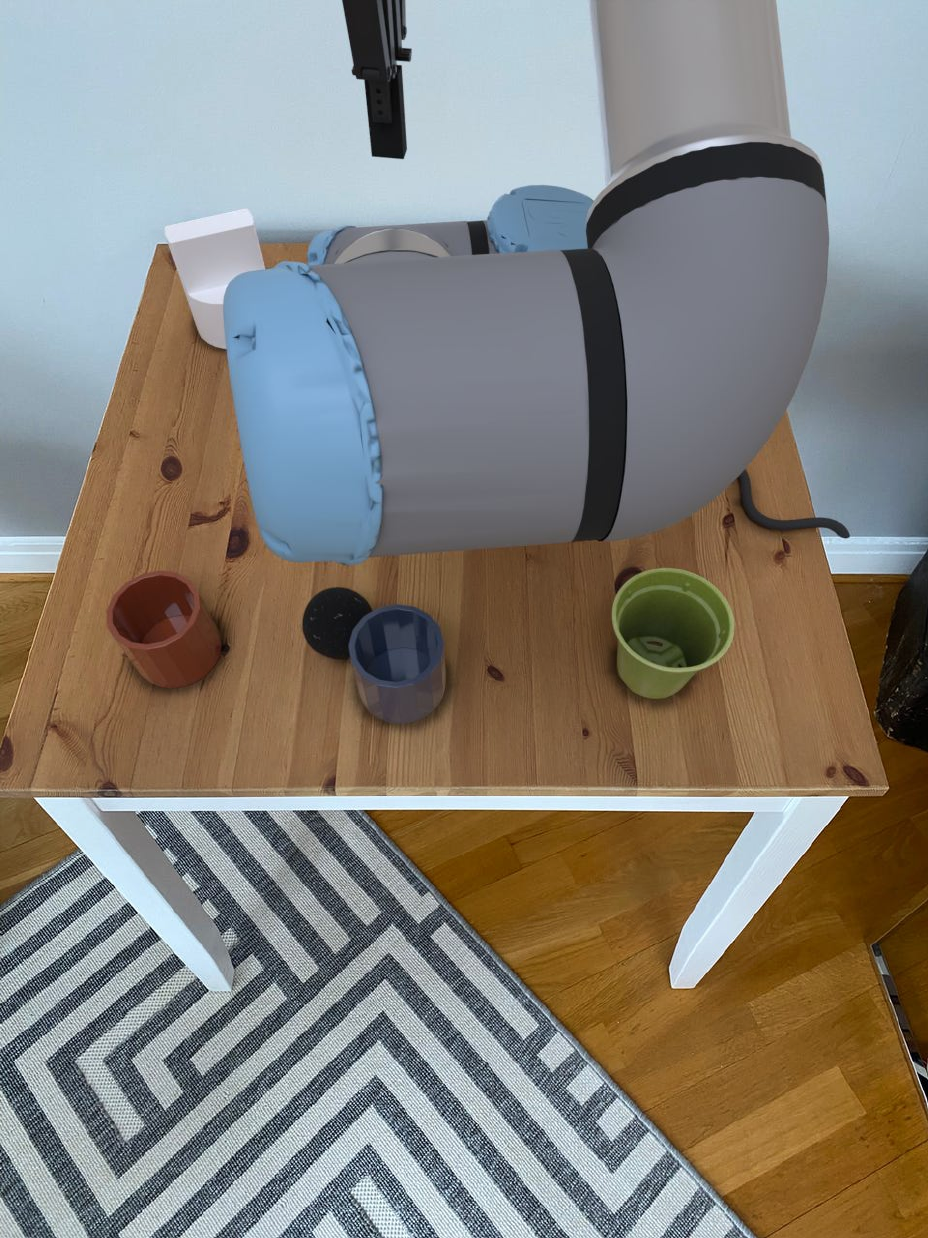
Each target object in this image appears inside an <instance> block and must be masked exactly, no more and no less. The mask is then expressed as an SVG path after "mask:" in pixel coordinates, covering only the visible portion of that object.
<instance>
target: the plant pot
mask: <svg viewBox="0 0 928 1238" xmlns="http://www.w3.org/2000/svg"><path fill="white" fill-rule="evenodd" d="M611 624H612V628H613V632H614V634H615V637H616V638H617V651H616V652H617V653H616V670H617V673H618V676H619V678H620V679H621V680H622V681H623V682H624V684H625V685H626V687H627V688H628V689H629V690H630V691H631V692H633V693H634V694H636V695H638V696H639V697H642V698H645V699H650V700H651V699H652V700H660V699H666V698H669V697H671V696H673V695H675V694H677V693H679V691H681V690H682V688H684V687H685V686H686V685H687V683H688V682H689V681H690V680H691V679H692V678H693V677H694V676H695V675H696V674H697V673H698V672H700V671H702V670H704V669H708V668H709V667H711V666H712V665H714V664H716V663H717V662H718V661H720V659H722V658H723V656H724V655H725V654H726V653H727V651H728V650H729V648H730V647H731V644H732V642H733V640H734V639H733V638H734V636H735V618H734V614H733V610H732V607H731V605H730V604H729V601H728V600H727V599H726V597H725V595H724V594H723V593H722V592H721V591H720V590H719V589H718V588H717V586H715V584H713V583H712V582H710V581H709V580H708V579H706V578H704V577H703V576H701V575H698V574H696V573H694V572H691V571H689V570H685V569H682V568H675V567H674V568H673V567H659V568H658V567H657V568H652V569H647V570H645V571H642V572H639V573H637V574H635V575H633V576H632V577H631V578H629V579H628V580H627V581H625V582H624V584H622V585H621V586H620V588H619V590H618V591H617V593H616V594H615V597H614V599H613V603H612V607H611ZM650 642H656V643H659V644H661V645H662V646H659V645H657V644H651V643H650ZM679 666H681V667H679Z"/></svg>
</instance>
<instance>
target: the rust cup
mask: <svg viewBox="0 0 928 1238" xmlns="http://www.w3.org/2000/svg"><path fill="white" fill-rule="evenodd" d="M106 627H107V629H108V630H109V632H110V634H111V636H112V638H113V639H114V641H115V642H116V643H117V645H118V647H119V648H120V649H121V651H122V652H123V653H124V654H125V655H126V657H127V658H128V660H129V661H130V662H131V664H132V665H133V666H134V667H135V669H136V670H137V672H138V674H140V675H141V676H142V677H143V678H144V679H145V680H146V681H147V682H149V683H150V684H152V685H155V686H157V687H161V688H165V689H177V688H183V687H187V686H190V685H192V684H194V683H196V682H199V681H200V680H202V679H203V678H204V677H206V676H207V675H208V674H209V673H210V672H211V671H212V670H213V668H215V666H216V664H217V663H218V661H219V658H220V655H221V652H222V636H221V634H220V630H219V628H218V627H217V624H216V623H215V621H214V618H213V617H212V614H211V613H210V611H209V608H208V607H207V605H206V602H205V601H204V599H203V597H202V595H201V593H200V592H199V590H198V589H197V587H196V585H195V583H194V582H193V581H192V579H189V578H187V577H186V576H185V575H182V574H181V573H179V572H175V571H168V570H162V569H160V570H155V571H150V572H144V573H141V574H139V575H137V576H135V577H133V578H132V579H129V580H128V581H126V582H125V583H124V584H123V585H122V586H121V587H120V588H119V589H118V590H117V591H115V593H114V594H113V595H112V596H111V600H110V602H109V604H108V606H107V607H106Z"/></svg>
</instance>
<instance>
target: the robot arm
mask: <svg viewBox="0 0 928 1238" xmlns="http://www.w3.org/2000/svg"><path fill="white" fill-rule="evenodd" d="M341 2H342V8H343V13H344V20H345V24H346V30H347V36H348V42H349V46H350V47H349V49H350V53H351V58H352V59H351V60H352V65H353V66H352V69H351V74H352V76H353V77H354V76H355V79H356V80H362V81H364V91H365V101H366V103H365V104H366V111H367V112H366V113H367V122H368V131H369V132H368V133H369V143H370V153H371V157H373V158H382V159H383V158H384V159H394V160H405V157H406V154H407V151H408V143H407V128H406V127H407V125H406V111H405V110H406V109H405V108H406V107H405V96H404V95H405V93H404V79H403V78H404V77H403V65H402V64H397V63H398V62H407V63H410V62H411V61H412V56H413V55H412V53H413V49H412V48H409V47H403V41H405V40H406V37H407V33H408V28H407V16H406V15H407V14H406V12H407V11H406V10H407V9H406V5H407V4H406V0H341ZM587 2H588V12H589V22H590V33H591V43H592V52H593V53H592V54H593V62H594V64H593V65H594V75H595V85H596V87H595V88H596V96H597V106H598V107H597V108H598V116H599V118H598V119H599V128H600V138H601V148H602V160H603V171H604V181H605V186H604V188H603V189H602V190H601V191H600V193H598V195H597V196H596V197H595V199H594V200H593V199H592V198H591V196H588V195H587V194H585V193H582V192H579V191H576V190H573V189H571V188H566V187H564V186H563V187H562V186H557V185H549V184H529V185H524V186H518V187H516V188H513V189H512V190H510V192H509V193H503V194H502V195H500V196H499V197H498V198H497V200H495V202H494V203H493V204H492V207H491V209H490V211H489V212H488V216H487V218H486V219H484V220H469V221H467V220H458V221H440V222H425V223H408V224H407V223H406V224H392V225H375V226H362V227H361V226H360V227H359V226H355V225H341V226H338V227H337V228H336V229H328V230H327V229H326V230H323V231H320V232H319V233H317V234H316V235H315V236H314V237H313V238H312V239H311V241H310V243H309V246H308V249H307V254H306V262H307V264H306V263H305V262H299V261H289V260H284V261H280V262H279V263H277V264H276V265H275V266H273V268H265V269H264V270H255V271H248V272H244V273H241V274H239V275H237V276H236V277H235V278H233V279H232V280H231V282H230V283H229V284H228V286H227V288H226V291H225V294H224V300H223V317H224V330H225V340H226V349H225V350H226V355H227V356H226V357H227V365H228V370H229V371H228V373H229V380H230V386H231V393H232V400H233V406H234V412H235V413H234V414H235V419H236V426H237V430H238V431H237V432H238V436H239V443H240V449H241V454H242V460H243V465H244V470H245V476H246V480H247V481H246V482H247V486H248V490H249V495H250V500H251V504H252V508H253V513H254V517H255V521H256V524H257V528H258V532H259V534H260V536H261V539H262V541H263V542H264V544H265V546H266V548H268V550H269V551H270V552H271V553H272V554H274V555H275V556H276V557H278V558H280V559H282V560H284V561H288V562H292V563H314V562H315V563H316V562H317V563H318V562H319V563H321V562H334V563H336V564H341V565H343V566H355V565H360V564H362V563H364V562H366V561H367V560H368V559H369V558H380V557H393V556H395V557H396V556H406V555H407V556H408V555H419V554H420V555H422V554H433V553H435V554H436V553H447V552H460V551H461V552H462V551H472V550H473V551H474V550H486V549H487V550H488V549H498V548H499V549H500V548H513V547H525V546H526V547H527V546H539V545H552V544H554V545H555V544H565V543H575V542H586V541H587V542H589V541H597V542H599V543H600V542H615V541H616V542H617V541H618V542H619V541H623V540H629V539H636V538H640V537H645V536H648V535H650V534H654V533H657V532H660V531H662V530H663V531H664V530H666V529H668V528H670V527H671V526H674V525H675V524H678V523H680V522H682V521H683V520H686V519H688V518H689V517H691V516H692V515H694V514H696V513H697V512H698V511H700V510H702V509H704V508H705V507H706V506H707V505H708V504H710V503H711V502H712V501H714V500H715V499H716V498H717V497H719V496H720V495H721V494H723V493H724V492H725V491H726V490H727V489H728V487H729V486H731V485H732V483H734V482H735V480H736V479H737V478H738V481H739V484H740V485H739V486H740V494H741V495H740V496H741V502H742V507H743V509H744V512H745V514H746V515H747V516H748V518H749V519H750V520H752V521H753V522H754V523H755V524H757V525H759V526H761V527H763V528H767V529H770V530H775V531H796V530H806V529H816V528H817V529H818V528H821V529H822V528H823V529H828V530H830V531H832V532H834V533H835V534H836V535H837V536H838V537H839V538H841V539H845V540H846V539H849V538H850V537H851V533H850V532H849V529H848V528H847V527H846V526H845V525H844V524H843V523H841V522H840V521H838V520H837V519H834V518H829V517H823V516H819V517H818V516H817V517H806V518H797V519H776V518H771V517H768V516H766V515H764V514H763V513H761V512H760V511H759V510H758V509H757V508H756V506H755V504H754V500H753V495H752V484H751V479H750V476H749V473H748V471H747V469H746V468H748V466H749V465H750V464H751V463H752V462H753V460H754V459H755V458H756V456H757V455H758V454H759V453H760V451H761V450H763V449H762V448H763V447H764V446H765V445H766V444H767V442H768V441H769V439H770V438H771V436H772V435H773V433H774V432H775V430H776V428H777V427H778V425H779V423H781V420H782V419H783V417H784V416H785V414H786V411H787V409H788V408H789V406H790V403H791V402H792V400H793V398H794V397H795V394H796V391H797V388H798V386H799V384H800V381H801V379H802V377H803V374H804V371H805V369H806V366H807V364H808V362H809V359H810V356H811V353H812V350H813V345H814V343H815V338H816V335H817V332H818V329H819V325H820V321H821V316H822V310H823V304H824V300H825V294H826V290H827V285H828V284H827V282H828V270H829V269H828V268H829V267H828V266H829V250H830V229H829V215H828V203H827V197H826V196H827V194H826V184H825V176H824V170H823V165H822V161H821V159H820V157H819V155H818V154H817V153H816V152H815V151H814V150H813V149H812V148H810V147H809V146H807V145H806V144H804V143H802V142H801V141H799V140H796V139H795V138H792V134H791V132H792V131H791V124H790V115H789V114H790V113H789V106H788V97H787V88H786V87H787V86H786V78H785V77H786V76H785V69H784V68H785V67H784V60H783V59H784V58H783V51H782V42H781V33H780V23H779V14H778V13H779V12H778V6H777V5H778V4H777V0H587Z"/></svg>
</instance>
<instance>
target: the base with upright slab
mask: <svg viewBox="0 0 928 1238" xmlns="http://www.w3.org/2000/svg"><path fill="white" fill-rule="evenodd" d="M164 237H165V239H166V243H167V246H168V248H169V251H170V254H171V256H172V260H173V262H174V266H175V268H176V271H177V274H178V276H179V281H180V283H181V286H182V288H183V291H184V295H185V297H186V300H187V303H188V306H189V309H190V312H191V315H192V317H193V320H194V324H195V326H196V329H197V332H198V334H199V336H200V337H201V339H202V340H203V341H204V342H206V343H207V344H209V345H211V346H212V347H215V348H219V349H223V350H227V349H226V340H225V330H224V317H223V300H224V294H225V291H226V288H227V286H228V284H229V283H230V282H231V280H232V279H233V278H235V277H236V276H237V275H239V274H241V273H244V272H248V271H255V270H264V269H266V266H265V263H264V258H263V254H262V249H261V245H260V241H259V236H258V233H257V228H256V225H255V220H254V216H253V214H252V213H251V211H250V209H249V208H248V207H247V208H242V209H237V210H233V211H228V212H222V213H219V214H214V215H209V216H205V217H200V218H196V219H191V220H187V221H182V222H178V223H177V222H176V223H173V224H168V225H165V226H164Z"/></svg>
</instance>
